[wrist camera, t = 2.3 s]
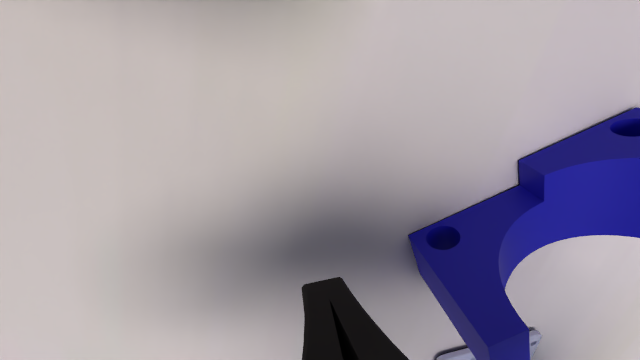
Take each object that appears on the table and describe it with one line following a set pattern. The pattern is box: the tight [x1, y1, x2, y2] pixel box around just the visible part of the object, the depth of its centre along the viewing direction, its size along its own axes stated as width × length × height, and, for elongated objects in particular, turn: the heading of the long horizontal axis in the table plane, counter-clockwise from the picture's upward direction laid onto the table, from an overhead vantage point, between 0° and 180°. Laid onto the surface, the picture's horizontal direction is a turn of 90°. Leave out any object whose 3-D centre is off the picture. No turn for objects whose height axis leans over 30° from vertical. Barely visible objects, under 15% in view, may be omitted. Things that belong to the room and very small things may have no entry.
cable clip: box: [408, 107, 640, 360], centre depth 14 cm, size 12×4×6 cm, turn 112°
